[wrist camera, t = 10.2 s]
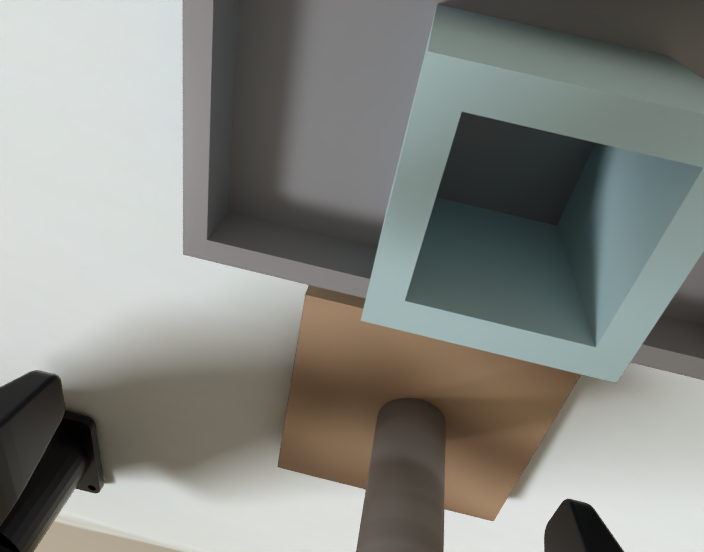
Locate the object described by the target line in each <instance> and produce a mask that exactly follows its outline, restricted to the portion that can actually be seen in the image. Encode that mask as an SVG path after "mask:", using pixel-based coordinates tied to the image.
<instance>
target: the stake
mask: <svg viewBox="0 0 704 552" xmlns="http://www.w3.org/2000/svg"><path fill="white" fill-rule="evenodd" d="M365 300H366V298H362V297H358V296H353V295H349V294H345V293H341V292H337V291H333V290H328V289H324V288H320V287H316V286H312V285H309V287H308V289H307V292H306V294H305V300H304V306H303V312H302V318H301V324H300V331H299V337H298V343H297V349H296V355H295V362H294V368H293V374H292V380H291V386H290V392H289V399H288V405H287V411H286V417H285V423H284V430H283V436H282V442H281V448H280V454H279V461H278V467H279V468H283V469H287V470H291V471H295V472H299V473H303V474H307V475H311V476H315V477H319V478H323V479H327V480H331V481H335V482H339V483H343V484H347V485H351V486H355V487H359V488H363V489H366V492H365V499H364V505H363V512H362V518H361V524H360V531H359V537H358V544H357V550H356V552H443V546H444V509H446V510H450V511H454V512H458V513H462V514H466V515H470V516H474V517H478V518H482V519H486V520H490V521H494V519H495V518H496V516H497V514H498V513H499V511H500V509H501V508H502V506H503V504H504V503H505V501H506V499H507V498H508V496H509V494H510V493H511V491H512V489H513V488H514V486H515V484H516V483H517V481H518V479H519V478H520V476H521V474H522V473H523V471H524V469H525V467H526V466H527V464H528V462H529V461H530V459H531V457H532V456H533V454H534V452H535V451H536V449H537V447H538V446H539V444H540V442H541V441H542V439H543V437H544V436H545V434H546V432H547V431H548V429H549V427H550V426H551V424H552V422H553V421H554V419H555V417H556V416H557V414H558V412H559V410H560V409H561V407H562V405H563V404H564V402H565V400H566V399H567V397H568V395H569V394H570V392H571V390H572V389H573V387H574V385H575V384H576V382H577V380H578V379H579V377H580V375H581V374H577V373H573V372H569V371H565V370H561V369H557V368H553V367H548V366H544V365H540V364H536V363H532V362H528V361H524V360H520V359H516V358H512V357H508V356H503V355H499V354H495V353H491V352H487V351H483V350H479V349H475V348H471V347H467V346H463V345H458V344H454V343H450V342H446V341H442V340H438V339H434V338H430V337H426V336H422V335H418V334H413V333H409V332H405V331H401V330H397V329H393V328H389V327H385V326H381V325H377V324H373V323H368V322H364V321H361V317H362V312H363V308H364V304H365Z"/></svg>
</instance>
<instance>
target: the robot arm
mask: <svg viewBox="0 0 704 552" xmlns="http://www.w3.org/2000/svg"><path fill="white" fill-rule="evenodd" d="M103 485H104V483H103V477H102V470H101V463H100V456H99V449H98V443H97V436H96V429H95V424H94V422H93V421H92V420H91V419H90V418H88V417H86V416H82V415H78V414H74V413H70V412H66V411H65V403H64V397H63V390H62V384H61V379H60V378H59V376H58V375H56V374H52V373H48V372H44V371H39V370H36V371H32V372H29V373H27V374H25V375H23V376H21V377H19V378H17V379H15V380H13V381H11V382H9V383H7V384H6V385H4V386H2V387H0V552H34V550H35V549H36V547H37V546H38V544H39V543H40V541H41V540H42V538H43V537H44V535H45V534H46V532H47V531H48V529H49V527H50V526H51V525H52V523H53V521H54V520H55V518H56V517H57V515H58V514H59V512H60V511H61V509H62V508H63V506H64V505H65V503H66V502H67V500H68V499H69V497H70V496H71V494H72V493H73V491H74V490H75V488H76V489H80V490H84V491H88V492H91V493H99V492H100V490H101V489H102V487H103ZM544 547H545V552H624V551H623V549H622V548H621V547H620V545H619V544H618V542H617V541H616V539H615V538H614V537H613V535H612V534H611V532H610V531H609V529H608V528H607V527H606V525H605V524H604V522H603V521H602V519H601V518H600V517H599V515H598V514H597V512H596V511H595V509H594V508H593V507H592V506H591V505H589V504H587V503H585V502H581V501H576V500H572V499H566V500H564V501H563V502H562V503H561V505H560V506H559V508H558V509H557V510H556V512H555V513H554V515H553V516H552V518H551V519H550V521H549V522H548V524H547V526H546V529H545V536H544Z"/></svg>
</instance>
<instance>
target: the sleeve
mask: <svg viewBox="0 0 704 552" xmlns="http://www.w3.org/2000/svg"><path fill="white" fill-rule="evenodd" d="M461 112H466V113H470V114H475V115H479V116H483V117H487V118H492V119H496V120H500V121H505V122H509V123H513V124H518V125H522V126H526V127H530V128H535V129H539V130H543V131H548V132H552V133H556V134H561V135H565V136H569V137H573V138H578V139H582V140H586V141H591V142H595V144H594V146H593V149H592V151H591V153H590V155H589V157H588V160H587V162H586V164H585V166H584V168H583V170H582V173H581V175H580V177H579V179H578V181H577V183H576V186H575V188H574V190H573V192H572V194H571V196H570V199H569V201H568V203H567V205H566V207H565V209H564V212H563V214H562V216H561V218H560V220H559V222H558V225H557V226H556V225H552V224H548V223H543V222H539V221H535V220H531V219H526V218H522V217H518V216H514V215H510V214H505V213H501V212H497V211H493V210H488V209H484V208H480V207H476V206H472V205H467V204H463V203H459V202H455V201H451V200H446V199H442V198H438V197H436V195H437V192H438V189H439V185H440V182H441V179H442V175H443V172H444V169H445V165H446V162H447V159H448V156H449V152H450V149H451V146H452V142H453V139H454V136H455V132H456V129H457V126H458V122H459V119H460V116H461ZM703 252H704V79H703V78H701V77H700V76H698V75H697V74H695V73H694V72H692V71H691V70H689V69H688V68H686V67H685V66H683V65H682V64H680V63H679V62H678V61H676V60H675V59H673V58H672V57H668V56H663V55H659V54H655V53H650V52H646V51H641V50H637V49H632V48H628V47H624V46H619V45H615V44H610V43H606V42H602V41H597V40H593V39H588V38H584V37H580V36H575V35H571V34H566V33H562V32H558V31H553V30H549V29H544V28H540V27H536V26H531V25H527V24H522V23H518V22H514V21H509V20H505V19H500V18H496V17H492V16H487V15H483V14H478V13H474V12H470V11H465V10H461V9H456V8H452V7H448V6H443V5H439V4H437V6H436V10H435V14H434V18H433V22H432V26H431V30H430V34H429V38H428V42H427V47H426V51H425V55H424V59H423V63H422V67H421V71H420V75H419V79H418V83H417V87H416V91H415V95H414V99H413V103H412V108H411V112H410V116H409V120H408V124H407V128H406V132H405V136H404V140H403V144H402V148H401V152H400V156H399V160H398V165H397V169H396V173H395V177H394V181H393V185H392V189H391V193H390V197H389V201H388V205H387V209H386V213H385V218H384V222H383V226H382V231H381V235H380V239H379V244H378V248H377V252H376V257H375V261H374V265H373V269H372V274H371V278H370V282H369V287H368V291H367V295H366V300H365V304H364V308H363V312H362V317H361V321H364V322H368V323H373V324H377V325H381V326H385V327H389V328H393V329H397V330H401V331H405V332H409V333H413V334H418V335H422V336H426V337H430V338H434V339H438V340H442V341H446V342H450V343H454V344H458V345H463V346H467V347H471V348H475V349H479V350H483V351H487V352H491V353H495V354H499V355H503V356H508V357H512V358H516V359H520V360H524V361H528V362H532V363H536V364H540V365H544V366H548V367H553V368H557V369H561V370H565V371H569V372H573V373H577V374H581V375H585V376H589V377H593V378H598V379H602V380H606V381H610V382H614V383H617V381H618V380H619V378H620V377H621V375H622V374H623V372H624V371H625V369H626V368H627V366H628V365H629V363H630V362H631V360H632V359H633V357H634V356H635V354H636V353H637V351H638V350H639V348H640V347H641V345H642V344H643V342H644V341H645V339H646V338H647V336H648V335H649V333H650V332H651V330H652V329H653V327H654V326H655V324H656V323H657V321H658V320H659V318H660V316H661V315H662V313H663V312H664V310H665V309H666V307H667V306H668V304H669V303H670V301H671V300H672V298H673V297H674V295H675V294H676V292H677V291H678V289H679V288H680V286H681V285H682V283H683V282H684V280H685V279H686V277H687V276H688V274H689V273H690V271H691V270H692V268H693V267H694V265H695V264H696V262H697V261H698V259H699V258H700V256H701V255H702V253H703Z"/></svg>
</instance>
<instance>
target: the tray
mask: <svg viewBox="0 0 704 552" xmlns="http://www.w3.org/2000/svg"><path fill="white" fill-rule="evenodd" d="M437 4H439V5H443V6H448V7H452V8H456V9H461V10H465V11H470V12H474V13H478V14H483V15H487V16H492V17H496V18H500V19H505V20H509V21H514V22H518V23H522V24H527V25H531V26H536V27H540V28H544V29H549V30H553V31H558V32H562V33H566V34H571V35H575V36H580V37H584V38H588V39H593V40H597V41H602V42H606V43H610V44H615V45H619V46H624V47H628V48H632V49H637V50H641V51H646V52H650V53H655V54H659V55H663V56H668V57H672V58H673V59H675V60H676V61H678V62H679V63H680V64H682V65H683V66H685V67H686V68H688V69H689V70H691V71H692V72H694V73H695V74H697V75H698V76H700V77H701V78H703V79H704V0H183V255H187V256H192V257H196V258H200V259H204V260H208V261H212V262H216V263H221V264H225V265H229V266H233V267H237V268H241V269H246V270H250V271H254V272H258V273H262V274H266V275H270V276H275V277H279V278H283V279H287V280H291V281H295V282H299V283H304V284H308V285H312V286H316V287H320V288H324V289H328V290H333V291H337V292H341V293H345V294H349V295H353V296H358V297H362V298H366V295H367V291H368V287H369V282H370V278H371V274H372V269H373V265H374V261H375V257H376V252H377V248H378V244H379V239H380V235H381V231H382V226H383V222H384V218H385V213H386V209H387V205H388V201H389V197H390V193H391V189H392V185H393V181H394V177H395V173H396V169H397V165H398V160H399V156H400V152H401V148H402V144H403V140H404V136H405V132H406V128H407V124H408V120H409V116H410V112H411V108H412V103H413V99H414V95H415V91H416V87H417V83H418V79H419V75H420V71H421V67H422V63H423V59H424V55H425V51H426V47H427V42H428V38H429V34H430V30H431V26H432V22H433V18H434V14H435V10H436V6H437ZM594 144H595V142H591V141H586V140H582V139H578V138H573V137H569V136H565V135H561V134H556V133H552V132H548V131H543V130H539V129H535V128H530V127H526V126H522V125H518V124H513V123H509V122H505V121H500V120H496V119H492V118H487V117H483V116H479V115H475V114H470V113H466V112H461V116H460V119H459V122H458V126H457V129H456V132H455V136H454V139H453V142H452V146H451V149H450V152H449V156H448V159H447V162H446V165H445V169H444V172H443V175H442V179H441V182H440V185H439V189H438V192H437V195H436V197H438V198H442V199H446V200H451V201H455V202H459V203H463V204H467V205H472V206H476V207H480V208H484V209H488V210H493V211H497V212H501V213H505V214H510V215H514V216H518V217H522V218H526V219H531V220H535V221H539V222H543V223H548V224H552V225H556V226H557V225H558V222H559V220H560V218H561V216H562V214H563V212H564V209H565V207H566V205H567V203H568V201H569V199H570V196H571V194H572V192H573V190H574V188H575V186H576V183H577V181H578V179H579V177H580V175H581V173H582V170H583V168H584V166H585V164H586V162H587V160H588V157H589V155H590V153H591V151H592V149H593V146H594ZM631 363H635V364H640V365H644V366H648V367H652V368H656V369H660V370H664V371H669V372H673V373H677V374H681V375H685V376H689V377H693V378H698V379H702V380H704V252H703V253H702V255H701V256H700V258H699V259H698V261H697V262H696V264H695V265H694V267H693V268H692V270H691V271H690V273H689V274H688V276H687V277H686V279H685V280H684V282H683V283H682V285H681V286H680V288H679V289H678V291H677V292H676V294H675V295H674V297H673V298H672V300H671V301H670V303H669V304H668V306H667V307H666V309H665V310H664V312H663V313H662V315H661V316H660V318H659V320H658V321H657V323H656V324H655V326H654V327H653V329H652V330H651V332H650V333H649V335H648V336H647V338H646V339H645V341H644V342H643V344H642V345H641V347H640V348H639V350H638V351H637V353H636V354H635V356H634V357H633V359H632V360H631Z"/></svg>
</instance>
